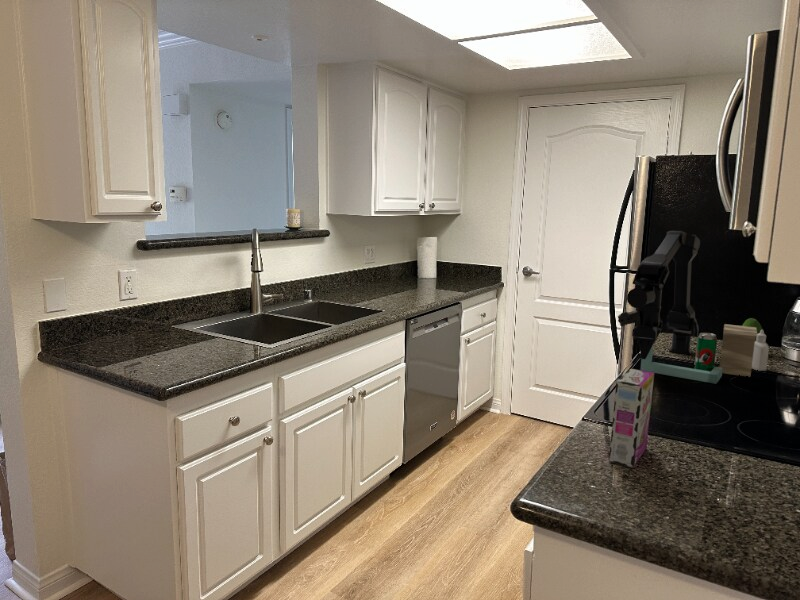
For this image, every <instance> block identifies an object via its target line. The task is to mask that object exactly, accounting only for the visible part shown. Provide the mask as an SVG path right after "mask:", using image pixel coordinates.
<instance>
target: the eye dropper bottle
mask: <svg viewBox="0 0 800 600" xmlns="http://www.w3.org/2000/svg"><path fill="white" fill-rule="evenodd" d="M766 340H767V335H766V334H765V332H764V329H762V330H761V331H760V333H759V334H757V337H756V341H755V344H754V352H753V360H752V369H751V370H755V371H757V370H758V371H757V372H766V371H767V368H768V359H769V350H770V349H769V348H770V347H769V344H768V343H767V342H766Z"/></svg>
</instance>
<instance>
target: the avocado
mask: <svg viewBox="0 0 800 600" xmlns="http://www.w3.org/2000/svg"><path fill="white" fill-rule="evenodd" d="M741 326H747V327H756V329H757V334H759V333H760V331H761V330H763V327H762V325H761V324H760V322H759V320H757V319H756V318H754V317H750V318H748V319H747V318H746V320H745V321H744V322H743V323H742V325H741ZM756 337H757V336H755V341H756Z"/></svg>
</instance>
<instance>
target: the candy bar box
mask: <svg viewBox="0 0 800 600" xmlns="http://www.w3.org/2000/svg"><path fill="white" fill-rule="evenodd" d="M654 379H655V373H653V372H647V371H642V370H641V369H635V368H630V369H629V370H628V371H626V372H625V373H624V374H623V375H622V376H621V377H620V378H618V379H617V380H616V382H615V393H614V402H613V403H614V405H613V415H612V423H611V434H610V435H611V437H610V447H609V458H608V462H609V463H613V464H617V465H621V466H623V467H627V468H628V467H629V468H631V469H633V468H635V466H636V464H637V463H638V462H639V460H640V459H641V457H642V455H643V454H644V452H645V451H646V449H647V447H648V437H649V436H648V435H649V427H650V418H651V417H650V416H651V410H652V409H651V407H652V400H653V390H654V389H653V388H654Z"/></svg>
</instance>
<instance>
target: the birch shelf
mask: <svg viewBox="0 0 800 600" xmlns="http://www.w3.org/2000/svg"><path fill="white" fill-rule="evenodd" d="M755 336H757V329H756V327H747V326H742V325H734V324H727V323H724V325H723V335H722V342H721V343H722V344H721V351H720V352H721V353H720V361H719V367H720V368H723V369H722V374H727V375H733V376H739V375H740V377H746V376H748V377H749V378H751V374H752V370H753V369H752V360H753V352H754V344H755ZM748 377H747V378H748Z"/></svg>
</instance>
